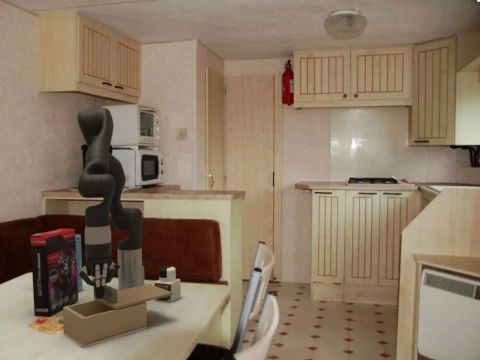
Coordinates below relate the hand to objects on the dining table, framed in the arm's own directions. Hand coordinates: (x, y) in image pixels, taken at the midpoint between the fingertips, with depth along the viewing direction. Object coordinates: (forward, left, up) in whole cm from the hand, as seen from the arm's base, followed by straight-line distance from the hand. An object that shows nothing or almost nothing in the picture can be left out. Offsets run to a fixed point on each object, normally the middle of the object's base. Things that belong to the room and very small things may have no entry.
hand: (99, 298), depth 130 cm
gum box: (-8, -54, -11) cm, 55 cm away
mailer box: (-2, 0, -10) cm, 11 cm away
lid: (-12, 0, -2) cm, 12 cm away
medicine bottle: (-33, -13, -11) cm, 37 cm away
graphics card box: (+1, -32, -11) cm, 34 cm away
